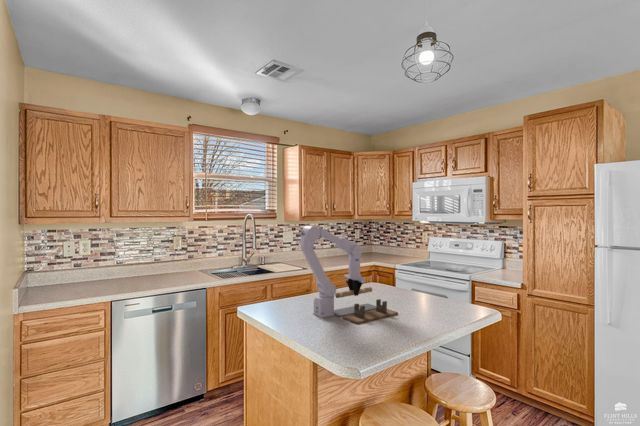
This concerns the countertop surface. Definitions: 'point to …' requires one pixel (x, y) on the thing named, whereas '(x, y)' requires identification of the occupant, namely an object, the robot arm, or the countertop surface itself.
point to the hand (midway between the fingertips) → (354, 294)
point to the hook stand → (369, 313)
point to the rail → (352, 292)
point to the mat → (352, 310)
